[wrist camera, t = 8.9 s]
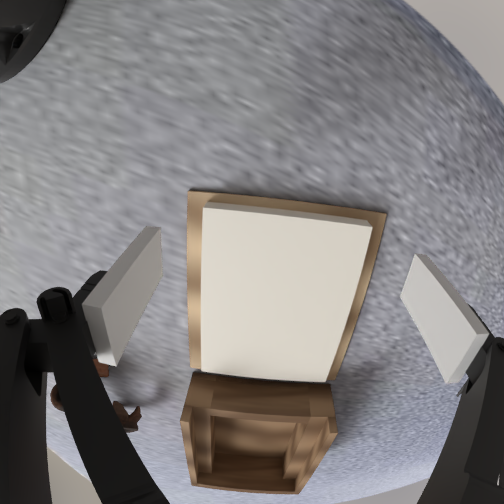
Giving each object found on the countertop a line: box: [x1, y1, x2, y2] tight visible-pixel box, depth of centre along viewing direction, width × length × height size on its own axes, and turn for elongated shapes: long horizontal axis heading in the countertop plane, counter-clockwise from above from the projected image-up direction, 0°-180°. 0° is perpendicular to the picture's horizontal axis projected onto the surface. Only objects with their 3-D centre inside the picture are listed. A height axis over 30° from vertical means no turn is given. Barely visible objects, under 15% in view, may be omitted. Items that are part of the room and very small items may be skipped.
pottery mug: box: [50, 359, 142, 433], centre depth 31 cm, size 12×10×8 cm
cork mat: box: [187, 190, 387, 380], centre depth 26 cm, size 18×15×1 cm
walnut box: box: [180, 372, 338, 494], centre depth 31 cm, size 18×15×6 cm
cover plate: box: [201, 202, 373, 382], centre depth 25 cm, size 16×12×2 cm
